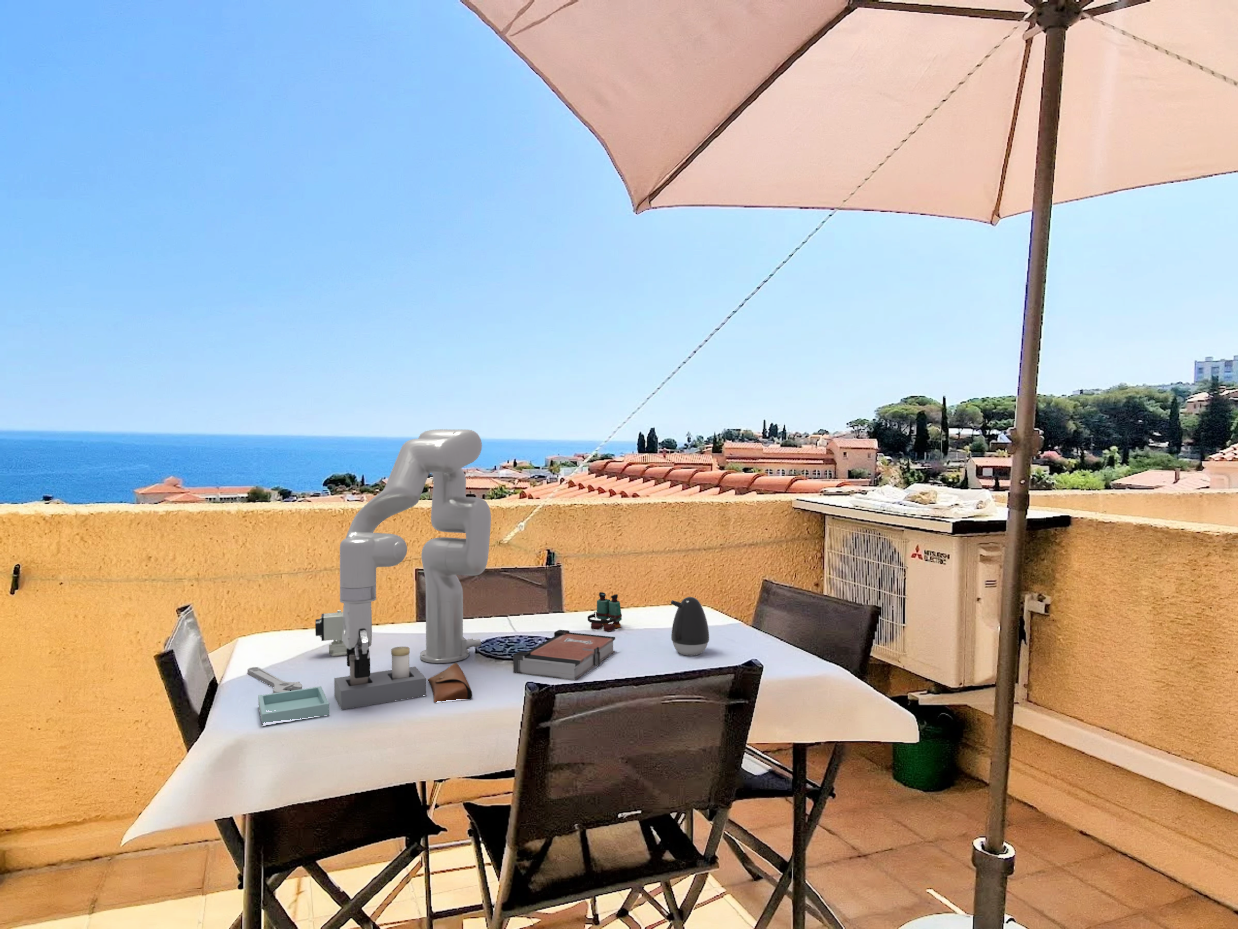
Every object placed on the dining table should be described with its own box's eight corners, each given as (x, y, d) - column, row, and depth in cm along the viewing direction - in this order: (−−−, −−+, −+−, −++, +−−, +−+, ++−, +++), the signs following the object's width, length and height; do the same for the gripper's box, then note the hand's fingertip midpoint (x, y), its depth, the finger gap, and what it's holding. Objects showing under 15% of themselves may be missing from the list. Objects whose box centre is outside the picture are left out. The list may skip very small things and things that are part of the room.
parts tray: (321, 697, 165) (321, 686, 165) (329, 715, 154) (329, 703, 154) (258, 707, 159) (258, 695, 159) (262, 726, 148) (261, 714, 148)
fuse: (407, 688, 171) (407, 645, 171) (411, 694, 167) (411, 650, 167) (389, 691, 169) (389, 648, 169) (393, 696, 166) (393, 652, 165)
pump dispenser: (667, 648, 205) (667, 593, 204) (704, 647, 206) (705, 592, 205) (673, 659, 195) (673, 601, 194) (712, 658, 196) (713, 600, 195)
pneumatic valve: (363, 654, 198) (362, 610, 198) (315, 659, 194) (315, 613, 194) (362, 649, 203) (362, 606, 203) (316, 653, 199) (315, 609, 199)
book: (578, 683, 177) (577, 662, 177) (513, 675, 183) (513, 654, 183) (617, 653, 201) (617, 635, 201) (559, 647, 207) (559, 629, 207)
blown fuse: (367, 695, 167) (366, 651, 166) (370, 700, 163) (370, 655, 163) (348, 698, 165) (347, 653, 164) (351, 703, 161) (350, 658, 161)
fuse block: (415, 683, 175) (415, 666, 175) (426, 696, 166) (426, 678, 166) (334, 695, 166) (334, 678, 166) (341, 710, 157) (341, 691, 157)
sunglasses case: (424, 679, 178) (439, 653, 179) (450, 691, 180) (464, 666, 181) (433, 704, 161) (449, 676, 162) (461, 717, 163) (477, 689, 164)
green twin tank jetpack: (582, 598, 224) (600, 590, 232) (584, 632, 225) (602, 622, 233) (607, 602, 219) (624, 593, 227) (609, 636, 220) (626, 626, 228)
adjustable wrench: (245, 674, 183) (245, 667, 183) (273, 669, 187) (273, 662, 187) (277, 700, 164) (277, 692, 164) (307, 694, 168) (307, 686, 168)
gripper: (334, 588, 169) (334, 663, 169) (346, 602, 154) (346, 684, 154) (368, 586, 173) (368, 659, 173) (383, 599, 157) (383, 679, 158)
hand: (358, 671), depth 163 cm, fingers open, 9 cm apart
